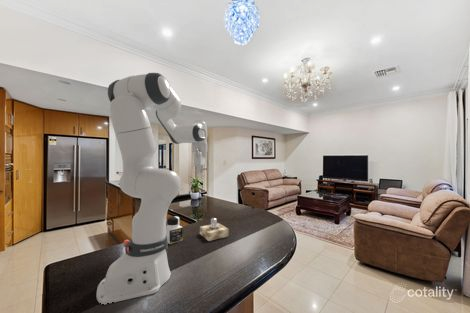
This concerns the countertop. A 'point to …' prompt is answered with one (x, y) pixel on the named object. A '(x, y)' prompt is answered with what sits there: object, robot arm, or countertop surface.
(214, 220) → the pin
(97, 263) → the countertop surface
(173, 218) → the medicine bottle
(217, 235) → the socket block
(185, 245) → the countertop surface
